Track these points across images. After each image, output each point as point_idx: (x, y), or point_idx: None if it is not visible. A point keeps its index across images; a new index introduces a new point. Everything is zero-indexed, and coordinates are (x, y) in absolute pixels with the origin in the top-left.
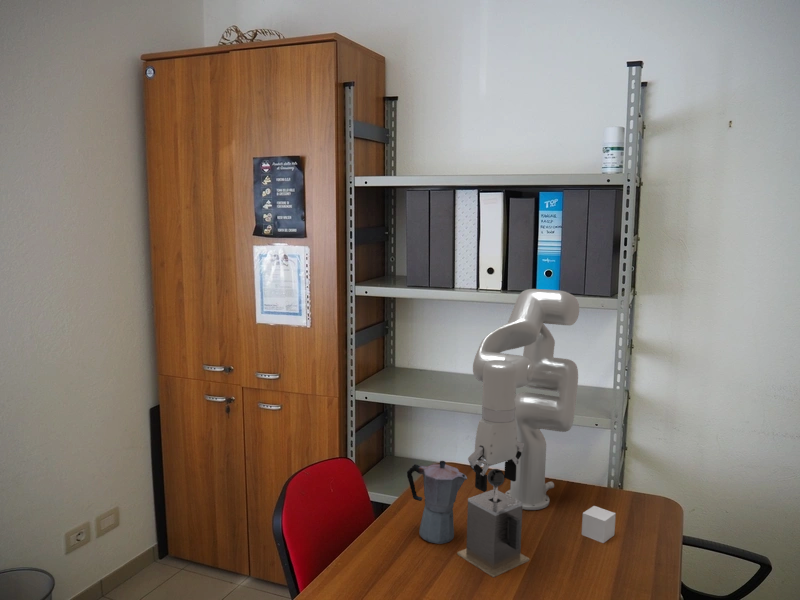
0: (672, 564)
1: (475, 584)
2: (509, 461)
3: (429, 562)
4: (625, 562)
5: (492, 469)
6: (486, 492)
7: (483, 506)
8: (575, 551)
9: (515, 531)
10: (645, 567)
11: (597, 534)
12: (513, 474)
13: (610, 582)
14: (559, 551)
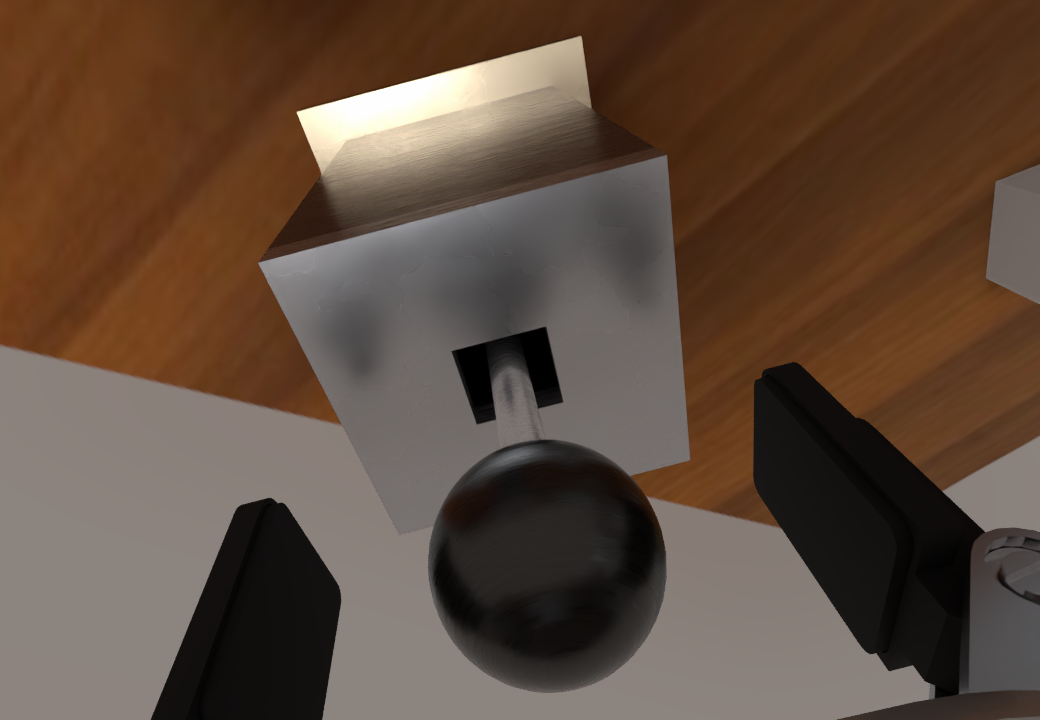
0: (1003, 451)
1: (300, 364)
2: (933, 641)
3: (104, 124)
4: (906, 405)
5: (529, 630)
6: (525, 206)
7: (351, 438)
8: (837, 292)
9: None
10: (924, 442)
11: (1015, 263)
12: (798, 551)
13: None
14: (783, 270)
